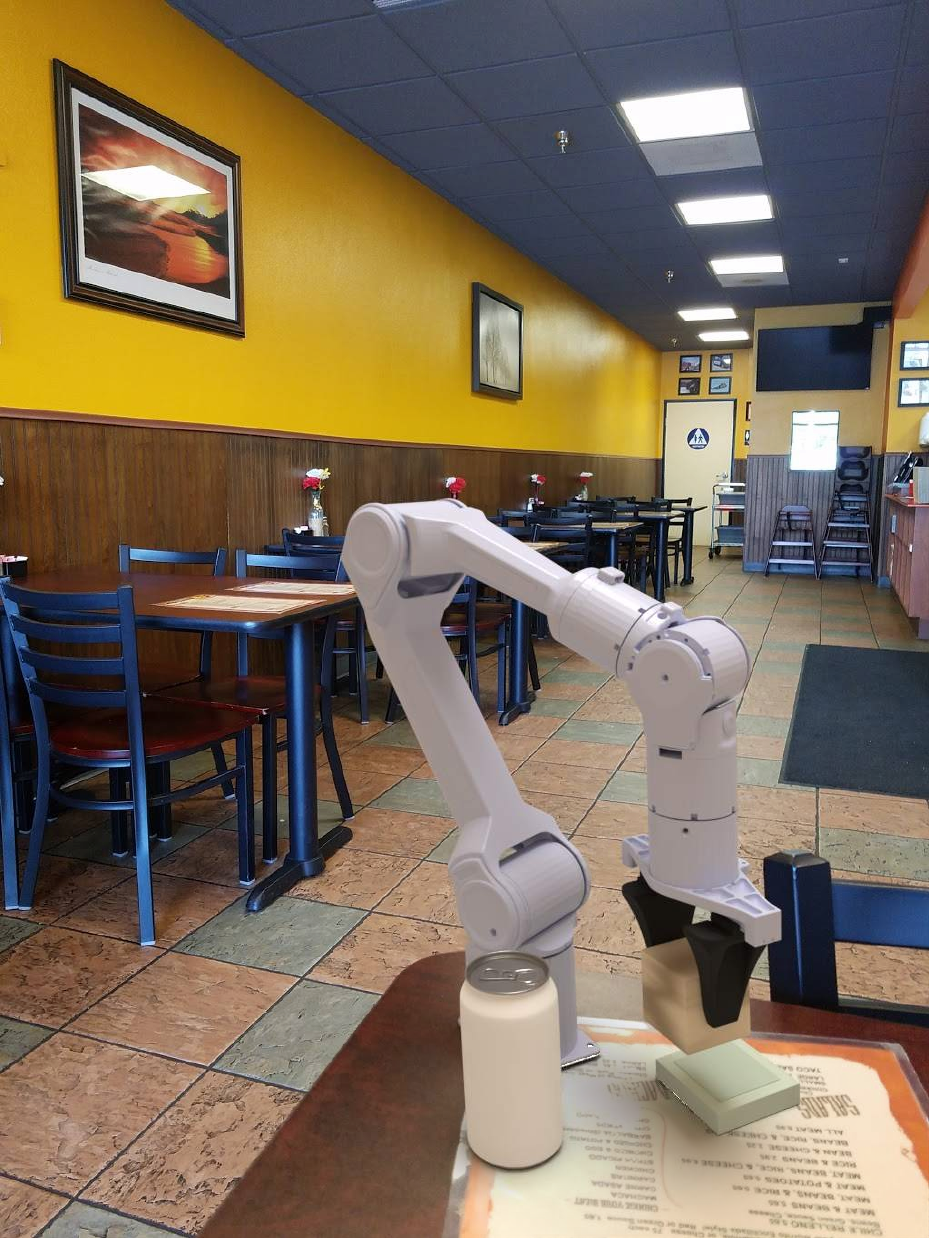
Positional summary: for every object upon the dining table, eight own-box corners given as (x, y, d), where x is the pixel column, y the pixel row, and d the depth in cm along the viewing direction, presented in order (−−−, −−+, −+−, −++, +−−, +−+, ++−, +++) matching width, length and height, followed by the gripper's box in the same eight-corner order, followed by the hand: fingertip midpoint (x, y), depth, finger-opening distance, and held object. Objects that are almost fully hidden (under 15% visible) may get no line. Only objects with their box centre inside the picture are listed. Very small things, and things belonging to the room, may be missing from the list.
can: (558, 1178, 60) (551, 999, 58) (458, 1168, 61) (448, 993, 60) (568, 1111, 66) (561, 949, 65) (477, 1104, 68) (468, 944, 66)
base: (656, 1077, 69) (655, 1058, 69) (732, 1050, 72) (732, 1031, 72) (718, 1135, 63) (717, 1113, 63) (800, 1103, 66) (799, 1082, 66)
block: (643, 1019, 65) (640, 949, 65) (703, 1000, 67) (701, 933, 67) (687, 1055, 61) (684, 981, 60) (750, 1034, 63) (748, 962, 62)
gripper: (821, 829, 57) (821, 1040, 59) (677, 768, 70) (681, 942, 72) (724, 851, 54) (728, 1072, 56) (594, 784, 68) (600, 964, 69)
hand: (696, 1001), depth 64 cm, fingers closed on block, 5 cm apart
